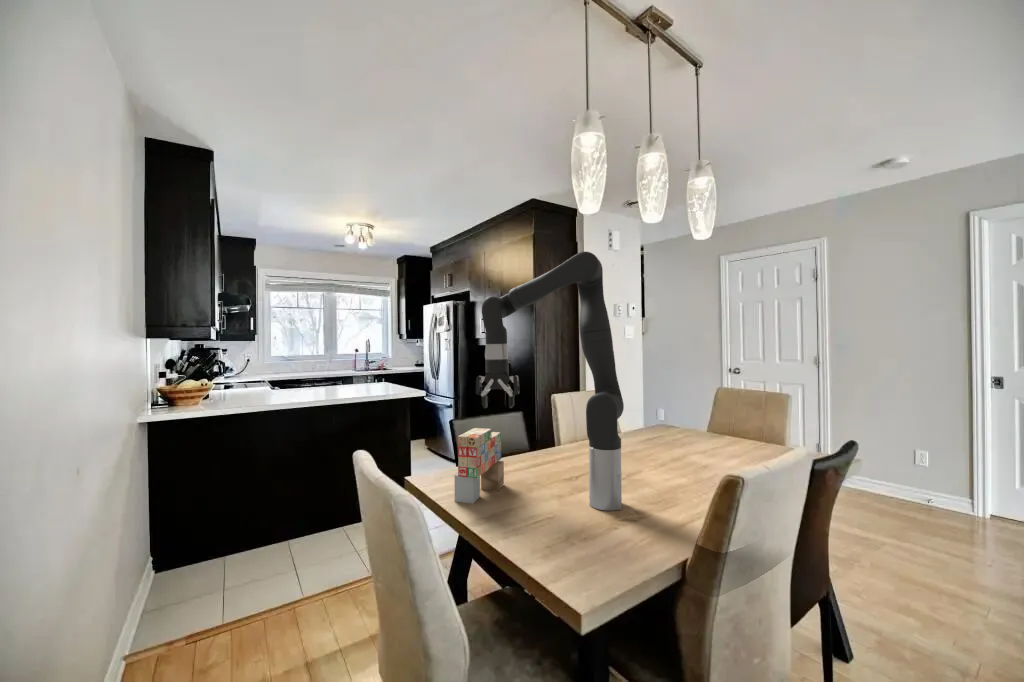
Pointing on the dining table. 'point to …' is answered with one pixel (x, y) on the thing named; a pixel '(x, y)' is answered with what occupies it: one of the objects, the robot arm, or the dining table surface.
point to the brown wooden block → (493, 477)
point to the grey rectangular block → (467, 489)
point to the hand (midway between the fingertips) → (498, 407)
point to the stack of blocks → (478, 451)
